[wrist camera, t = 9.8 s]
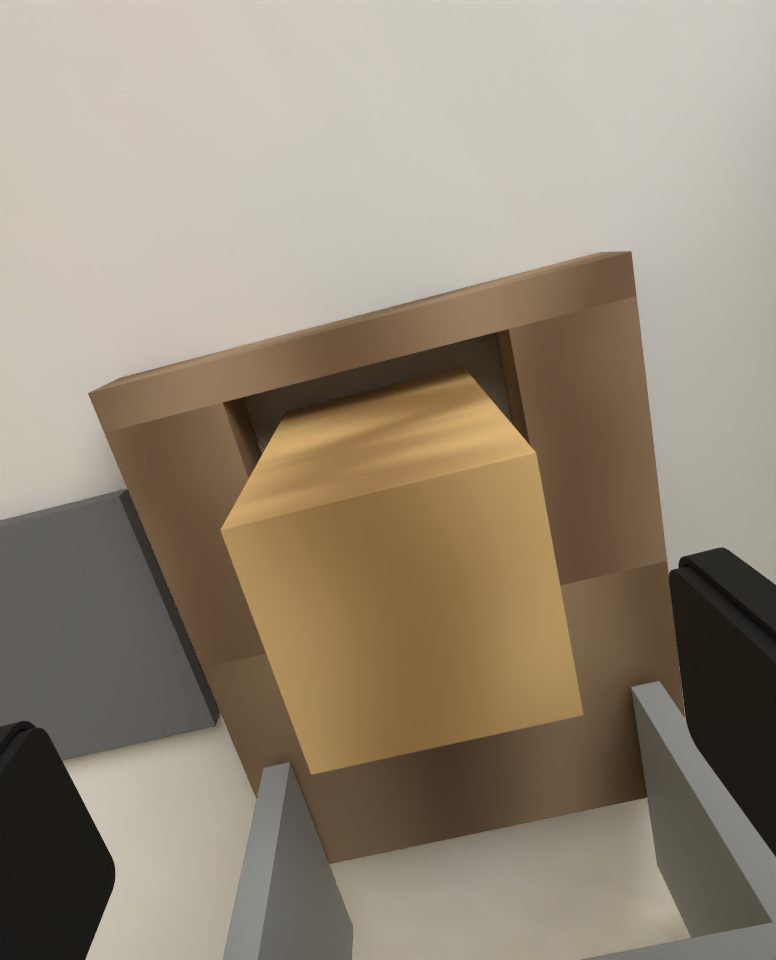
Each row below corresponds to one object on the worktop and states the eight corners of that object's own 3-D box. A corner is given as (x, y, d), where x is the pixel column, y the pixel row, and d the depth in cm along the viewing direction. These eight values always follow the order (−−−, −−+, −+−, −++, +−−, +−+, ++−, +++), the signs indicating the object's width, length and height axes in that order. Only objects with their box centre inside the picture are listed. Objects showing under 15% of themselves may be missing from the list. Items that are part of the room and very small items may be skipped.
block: (463, 366, 17) (536, 452, 10) (498, 531, 19) (583, 715, 11) (285, 411, 17) (220, 530, 10) (335, 569, 19) (311, 774, 12)
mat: (126, 488, 18) (118, 496, 17) (219, 712, 21) (215, 726, 20) (-134, 554, 18) (-150, 563, 18) (-10, 765, 21) (-21, 778, 21)
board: (600, 251, 16) (631, 251, 14) (664, 740, 21) (693, 787, 20) (119, 378, 17) (87, 393, 15) (294, 820, 22) (287, 872, 20)
